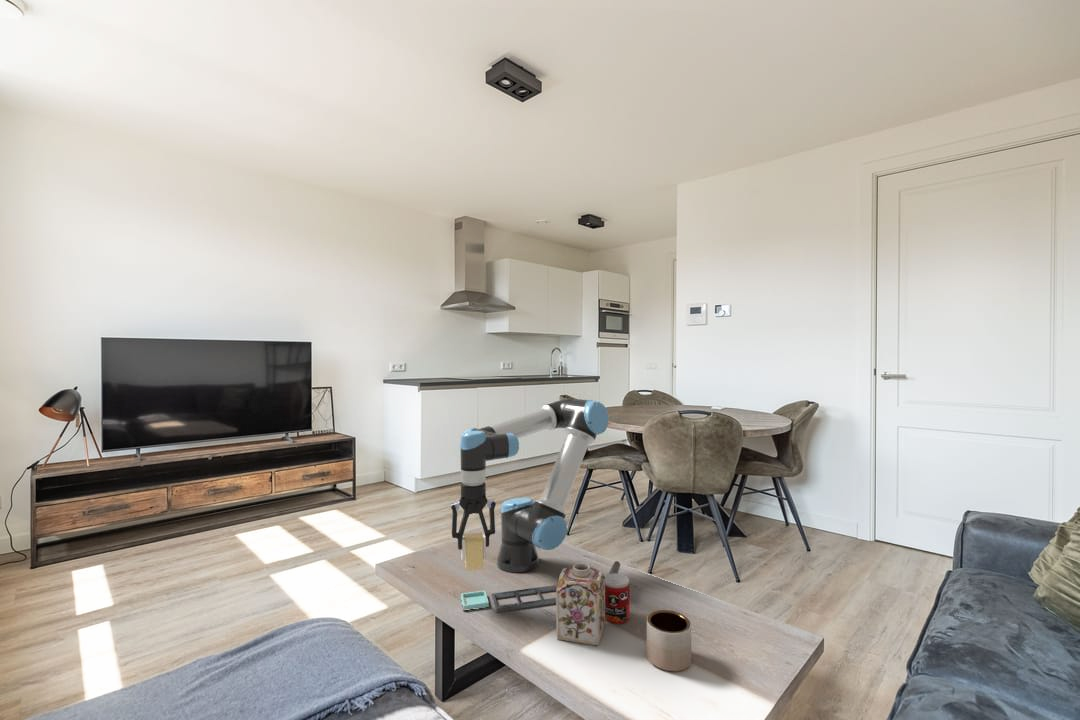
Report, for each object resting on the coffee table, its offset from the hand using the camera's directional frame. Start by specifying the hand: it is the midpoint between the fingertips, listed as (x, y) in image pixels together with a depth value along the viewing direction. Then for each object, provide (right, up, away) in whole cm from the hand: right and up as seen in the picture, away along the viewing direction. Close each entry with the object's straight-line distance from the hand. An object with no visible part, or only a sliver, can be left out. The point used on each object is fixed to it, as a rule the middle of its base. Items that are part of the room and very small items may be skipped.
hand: (473, 558), depth 148 cm
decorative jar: (+32, -14, -15) cm, 38 cm away
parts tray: (0, -14, 0) cm, 14 cm away
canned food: (+42, -14, -8) cm, 45 cm away
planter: (+52, -14, -27) cm, 60 cm away
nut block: (0, -2, 0) cm, 2 cm away
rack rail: (+17, -14, +2) cm, 22 cm away
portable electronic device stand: (+42, -14, +7) cm, 45 cm away
